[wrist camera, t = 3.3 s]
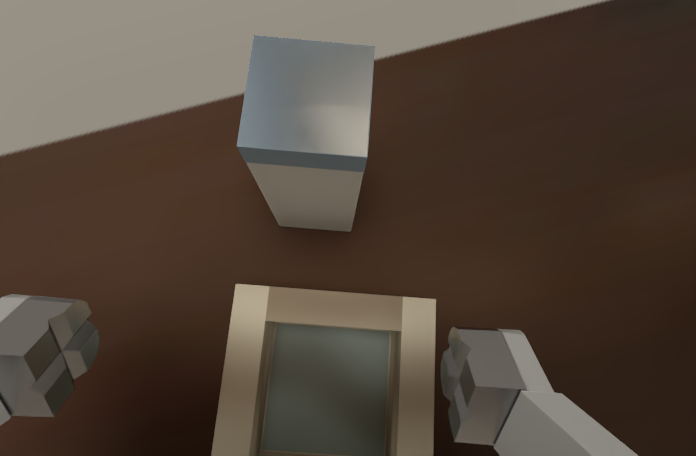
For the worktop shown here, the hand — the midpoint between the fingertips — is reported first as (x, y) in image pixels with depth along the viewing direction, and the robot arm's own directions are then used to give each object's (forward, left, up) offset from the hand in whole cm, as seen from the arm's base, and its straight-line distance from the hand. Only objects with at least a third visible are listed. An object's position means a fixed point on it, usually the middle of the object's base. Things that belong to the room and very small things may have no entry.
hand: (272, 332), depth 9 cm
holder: (-3, +1, -12) cm, 12 cm away
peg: (+4, -6, -12) cm, 14 cm away
